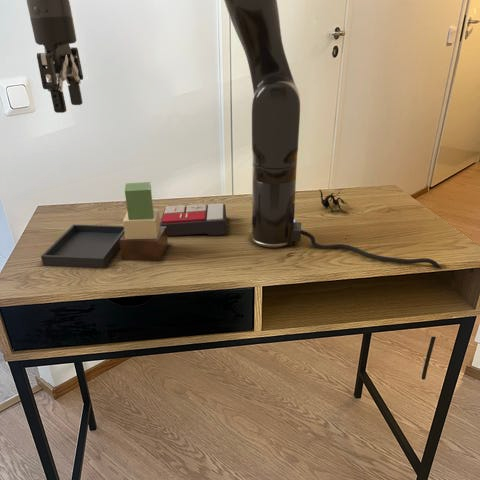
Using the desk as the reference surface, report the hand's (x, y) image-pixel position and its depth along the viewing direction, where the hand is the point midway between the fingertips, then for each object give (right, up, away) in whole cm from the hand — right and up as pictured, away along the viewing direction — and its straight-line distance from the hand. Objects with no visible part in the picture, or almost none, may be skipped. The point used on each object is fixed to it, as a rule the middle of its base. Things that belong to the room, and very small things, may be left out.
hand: (69, 108), depth 101 cm
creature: (+59, -14, +28) cm, 67 cm away
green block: (+14, -21, +3) cm, 25 cm away
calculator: (+24, -21, +19) cm, 37 cm away
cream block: (+14, -24, +5) cm, 29 cm away
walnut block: (+14, -28, +7) cm, 32 cm away
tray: (+1, -27, +9) cm, 29 cm away
